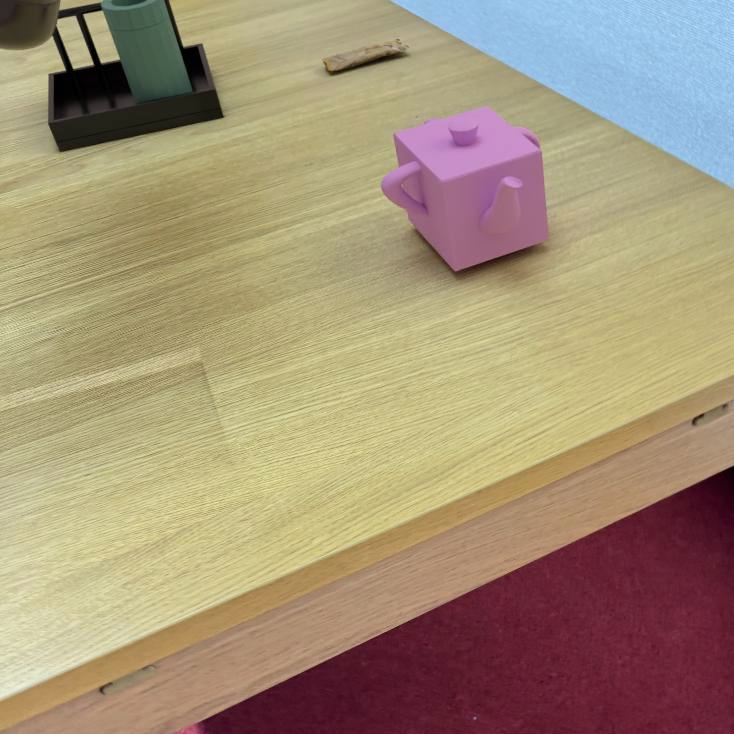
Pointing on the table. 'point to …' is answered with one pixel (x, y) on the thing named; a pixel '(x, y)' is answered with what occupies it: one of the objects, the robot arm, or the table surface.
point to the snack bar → (363, 55)
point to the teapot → (471, 186)
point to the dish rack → (121, 94)
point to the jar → (147, 48)
